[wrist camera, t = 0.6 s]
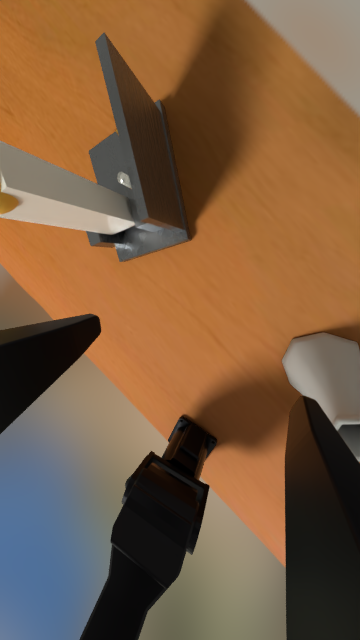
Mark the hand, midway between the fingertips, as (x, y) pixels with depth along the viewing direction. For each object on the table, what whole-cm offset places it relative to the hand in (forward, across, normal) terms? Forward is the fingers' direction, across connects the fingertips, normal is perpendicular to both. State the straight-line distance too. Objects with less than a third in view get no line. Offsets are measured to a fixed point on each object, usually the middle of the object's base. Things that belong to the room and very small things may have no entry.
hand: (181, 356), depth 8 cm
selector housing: (+17, +14, -5) cm, 23 cm away
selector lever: (+15, +14, -3) cm, 20 cm away
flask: (+15, -10, +8) cm, 20 cm away
